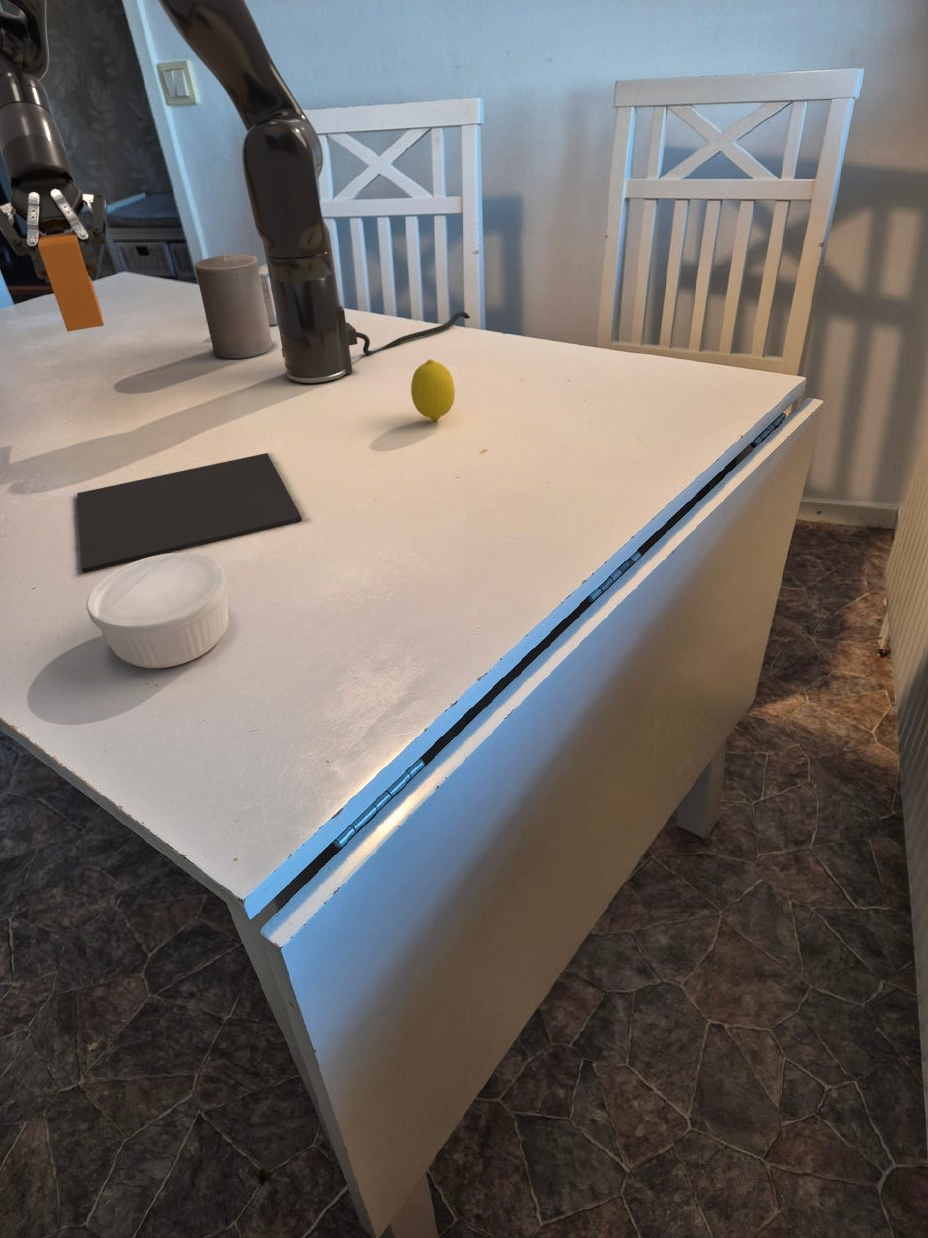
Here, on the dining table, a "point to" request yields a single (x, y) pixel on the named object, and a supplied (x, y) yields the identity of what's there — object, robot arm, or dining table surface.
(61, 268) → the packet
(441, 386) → the lemon
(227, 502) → the mat
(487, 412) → the dining table surface
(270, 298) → the medicine box
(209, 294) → the pillar candle
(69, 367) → the dining table surface
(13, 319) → the dining table surface
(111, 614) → the ramekin
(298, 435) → the dining table surface
